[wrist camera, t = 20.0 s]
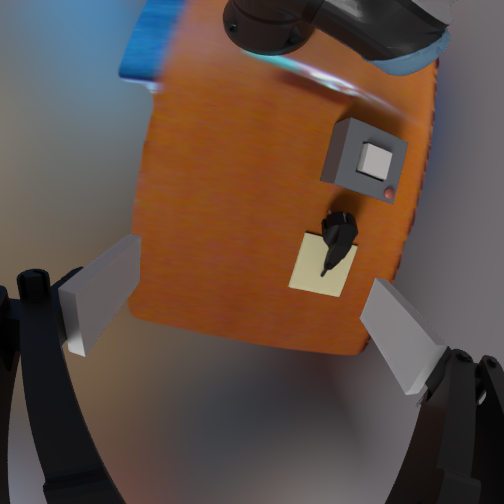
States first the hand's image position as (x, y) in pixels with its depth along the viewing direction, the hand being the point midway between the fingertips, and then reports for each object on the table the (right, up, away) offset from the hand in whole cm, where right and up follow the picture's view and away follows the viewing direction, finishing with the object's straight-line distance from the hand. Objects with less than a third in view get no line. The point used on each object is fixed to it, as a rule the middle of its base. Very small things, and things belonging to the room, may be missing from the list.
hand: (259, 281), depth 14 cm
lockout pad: (+12, -1, +33) cm, 35 cm away
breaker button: (+17, +15, +23) cm, 32 cm away
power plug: (+12, 0, +35) cm, 37 cm away
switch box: (+17, +17, +28) cm, 36 cm away
